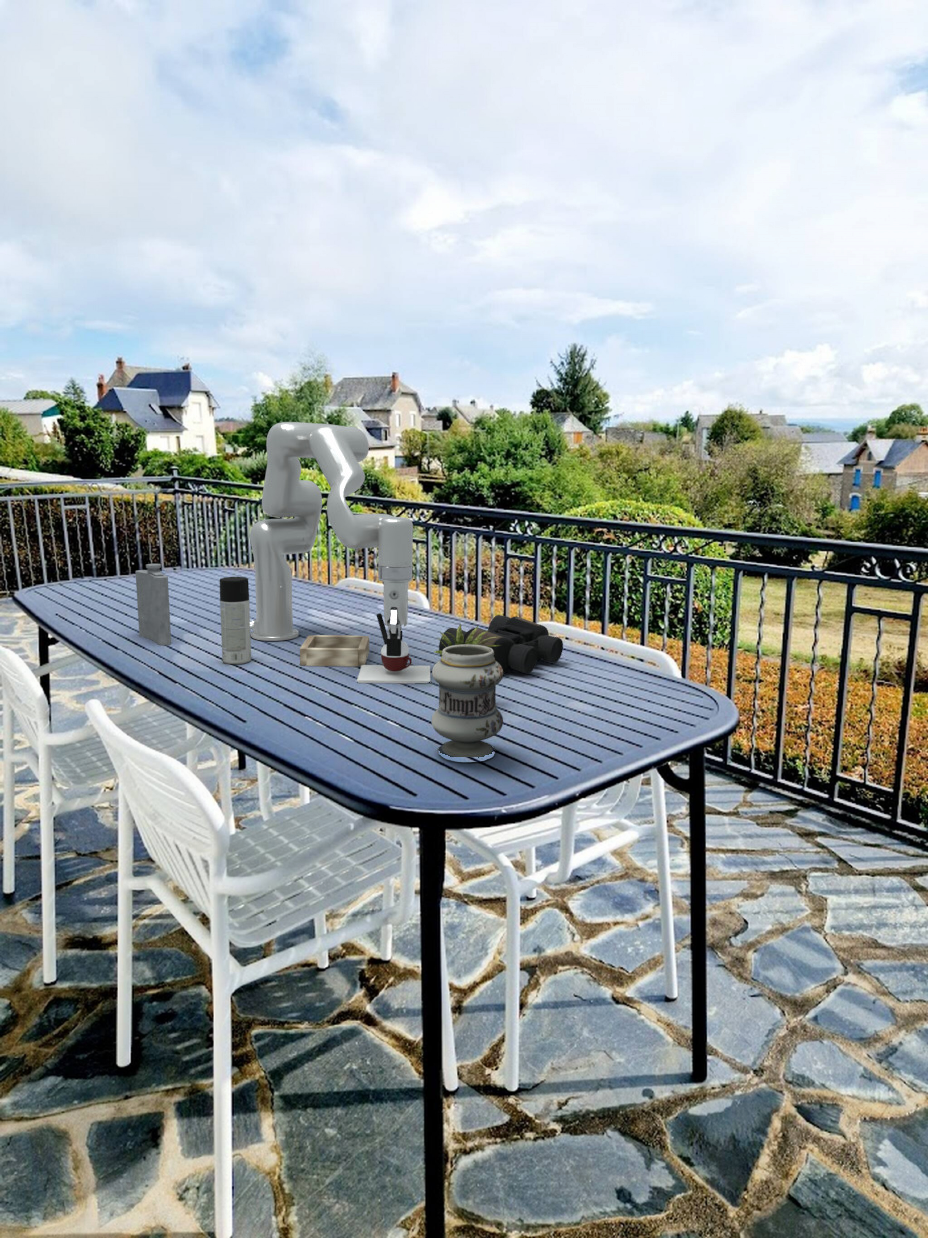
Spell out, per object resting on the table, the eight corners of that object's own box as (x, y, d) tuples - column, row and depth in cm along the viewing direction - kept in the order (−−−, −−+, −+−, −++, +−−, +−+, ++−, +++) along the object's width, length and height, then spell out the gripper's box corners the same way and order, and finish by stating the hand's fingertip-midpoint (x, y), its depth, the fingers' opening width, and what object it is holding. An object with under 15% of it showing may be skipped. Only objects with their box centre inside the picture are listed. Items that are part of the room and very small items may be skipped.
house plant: (470, 719, 152) (473, 636, 148) (411, 706, 159) (412, 626, 156) (507, 701, 164) (509, 623, 160) (450, 690, 171) (452, 615, 167)
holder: (299, 665, 187) (299, 649, 186) (309, 650, 202) (308, 635, 201) (364, 666, 188) (364, 650, 187) (369, 651, 203) (369, 635, 202)
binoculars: (501, 645, 211) (505, 608, 209) (570, 663, 200) (575, 625, 198) (436, 666, 188) (439, 625, 186) (509, 689, 177) (514, 646, 175)
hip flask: (137, 635, 215) (133, 561, 211) (152, 633, 217) (148, 560, 213) (161, 646, 203) (156, 568, 199) (176, 643, 206) (172, 566, 202)
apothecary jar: (443, 736, 142) (445, 638, 139) (509, 745, 139) (513, 644, 135) (420, 760, 131) (422, 654, 127) (491, 770, 127) (495, 661, 124)
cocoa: (415, 673, 179) (419, 622, 176) (391, 676, 176) (394, 624, 173) (395, 661, 187) (398, 611, 184) (371, 664, 183) (373, 613, 180)
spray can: (257, 660, 192) (254, 577, 188) (238, 666, 186) (235, 581, 182) (235, 656, 194) (232, 575, 190) (216, 662, 188) (212, 578, 184)
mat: (357, 682, 174) (356, 680, 174) (361, 667, 187) (361, 665, 187) (430, 683, 175) (430, 681, 175) (430, 668, 188) (430, 665, 188)
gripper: (411, 580, 168) (410, 661, 172) (412, 568, 185) (411, 643, 189) (375, 579, 168) (375, 661, 171) (380, 567, 185) (380, 642, 188)
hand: (394, 651), depth 180 cm, fingers open, 6 cm apart
